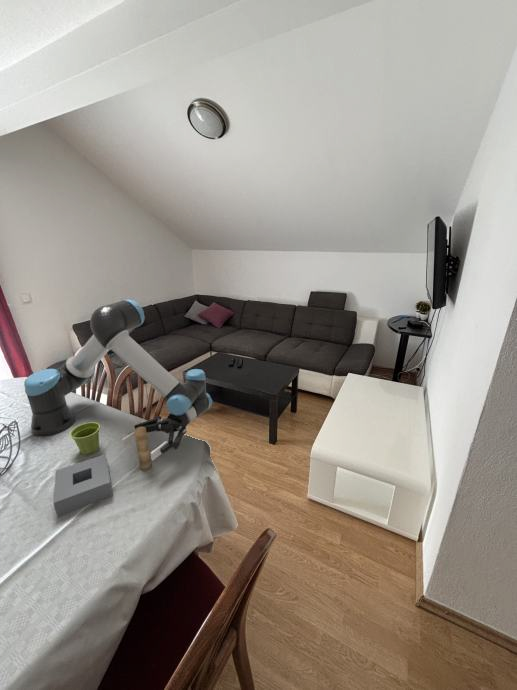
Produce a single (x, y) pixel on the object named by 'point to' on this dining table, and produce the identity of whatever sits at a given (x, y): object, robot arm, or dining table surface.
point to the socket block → (81, 484)
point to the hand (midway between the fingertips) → (136, 449)
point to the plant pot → (86, 437)
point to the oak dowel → (142, 448)
